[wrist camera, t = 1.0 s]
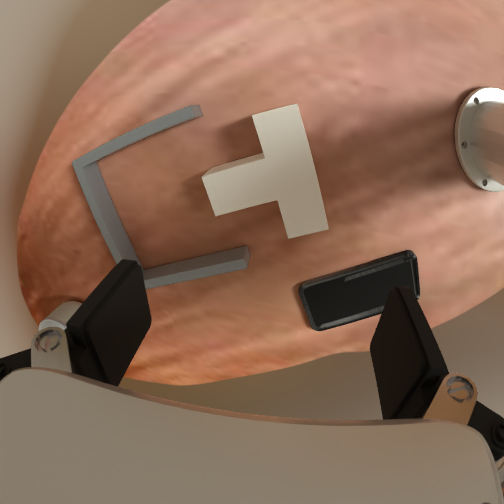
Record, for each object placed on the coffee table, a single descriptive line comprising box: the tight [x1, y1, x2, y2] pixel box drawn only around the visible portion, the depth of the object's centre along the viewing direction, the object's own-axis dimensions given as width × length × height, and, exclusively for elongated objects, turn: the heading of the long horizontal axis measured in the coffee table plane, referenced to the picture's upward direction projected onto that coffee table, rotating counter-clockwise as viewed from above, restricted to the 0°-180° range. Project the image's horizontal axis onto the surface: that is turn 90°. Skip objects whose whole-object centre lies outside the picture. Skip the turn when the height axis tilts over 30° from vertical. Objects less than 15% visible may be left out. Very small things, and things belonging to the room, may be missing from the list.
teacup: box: [39, 301, 82, 331], centre depth 39 cm, size 14×11×8 cm
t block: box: [202, 104, 329, 239], centre depth 28 cm, size 10×12×4 cm
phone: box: [299, 250, 420, 331], centre depth 35 cm, size 8×1×15 cm
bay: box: [72, 105, 250, 289], centre depth 31 cm, size 15×17×3 cm
